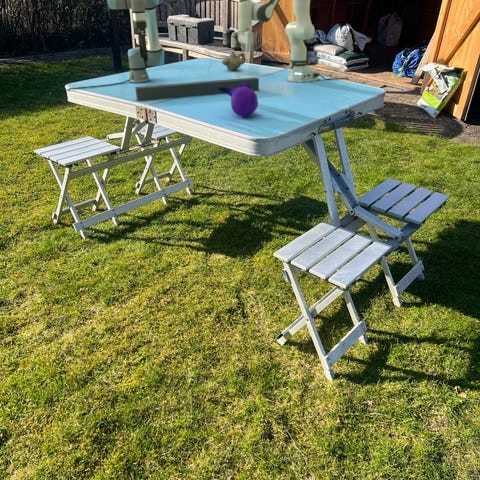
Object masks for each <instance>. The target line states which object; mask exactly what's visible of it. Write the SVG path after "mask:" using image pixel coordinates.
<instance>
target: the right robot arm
mask: <svg viewBox="0 0 480 480" xmlns="http://www.w3.org/2000/svg"><path fill="white" fill-rule="evenodd" d="M280 1H281V0H267V2H265V3H256V2H254V1H253V0H238V3H237V18H238V20H237V25H236V30H237V40H238V43H240V46H241V50H242V51H245V52H246V53H249V52H250V49H251V46H252V45H253V44H254V43H253V42H254V37H253V32H252V31H253V21H254V22H261V23H268V22H270V20H271V19H272V17H273V14H274V13H275V10H276V8H277V6H278V5H279V3H280ZM310 5H311V0H293V6H292V12H293V14H294V17H295V19H296V20H293V21H290V22H288V23H286V26H285V35H286V36H287V37H288V41H289V44H290V60H289V74H288V78H287V81H289V82H295V83H308V82H317V81H319V77H322V79H323V80H325V81H330V80H336V81H337V80H347V81H350V79H349V78H348V77H339V78H338V77H337V78H335V77H333V78H331V77H330V78H325V76H323V75H321V74H319V73H320V72H316V71H315V69H313V68H312V66H310V65H309V64H311V62H312V61H311V60H310V59H309V60H308V59H307V51H308V49H307V46H306V45H305V43H304V41H305V40H311V39H312V38H313V37H314V35H315V32H316V31H315V26H314V25H313V23H312V20H311V14H310V10H311V9H310ZM245 45H246V47H245Z"/></svg>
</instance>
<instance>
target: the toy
mask: <svg viewBox="0 0 480 480" xmlns="http://www.w3.org/2000/svg"><path fill="white" fill-rule="evenodd" d="M217 89H219V90H221V91H222V92H224V94H226V95H228V96H230V97H231V98H230V106H231V110H232V111H233V113H234V114H236V116H239V117H243V118H244V117H245V118H246V117H251V116H252V115H253V114H254V113H255V112H256V111H257V109H258V107H259V99H258V95H257V93H256V91H253V90H252V89H250V84H249V83H248V82H244V83H242V84H239V85H238V88H230V87H218V88H217Z"/></svg>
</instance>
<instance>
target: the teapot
mask: <svg viewBox="0 0 480 480" xmlns="http://www.w3.org/2000/svg"><path fill="white" fill-rule="evenodd" d="M245 62H246V55H245V53H244V52H239V53H238V54H236V53H235V51H234V50H232V51H231V53H230V54H229V56H227V57H226V56H225V57H224V58H222V60H221V64H222V65H224V66H226V68H227V70H228V71H230V72H232V71H234V72H235V71H237V70H238V69H239V68H240V67H241V65H244V64H245Z"/></svg>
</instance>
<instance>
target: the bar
mask: <svg viewBox="0 0 480 480" xmlns="http://www.w3.org/2000/svg"><path fill="white" fill-rule="evenodd" d="M259 81H260V79H259V78H258V77H257V76H256V77H255V76H254V77H245V78H243V77H242V78H230V79H217V80H216V79H215V80H205V81H192V82H179V83H167V84H153V85H141V86H134V90H135V95H136V97H135V98H136V101H137V102H143V101H154V100H165V99H177V98H178V99H179V98H187V97H188V98H189V97H200V96H210V95H212V96H213V95H221V94H223V95H224V94H225V93H224V92H222V91H221V90H219V89H217V88H218V87H230V88H238V85H239V84H242V83H244V82H248V83H249V84H250V89H252V90H253V91H254V92H258V91H260V87H259V85H260V84H259V83H260V82H259Z"/></svg>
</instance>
